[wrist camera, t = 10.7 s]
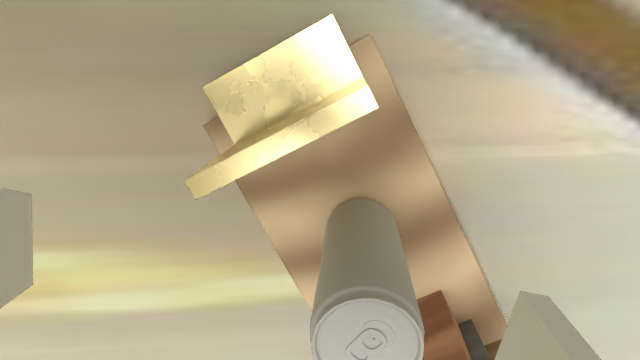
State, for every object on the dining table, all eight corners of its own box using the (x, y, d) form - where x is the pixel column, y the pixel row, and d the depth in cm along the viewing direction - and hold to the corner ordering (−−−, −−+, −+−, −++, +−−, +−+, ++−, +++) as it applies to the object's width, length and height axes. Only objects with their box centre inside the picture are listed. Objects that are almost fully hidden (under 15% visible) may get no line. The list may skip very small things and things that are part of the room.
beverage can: (411, 225, 28) (453, 343, 17) (365, 274, 29) (374, 415, 18) (356, 181, 28) (359, 272, 16) (310, 233, 29) (284, 352, 17)
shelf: (209, 122, 29) (109, 165, 17) (369, 35, 26) (384, 15, 15) (364, 391, 34) (371, 569, 22) (511, 338, 31) (606, 504, 20)
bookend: (205, 86, 26) (134, 99, 18) (332, 14, 25) (322, -10, 16) (245, 156, 28) (195, 199, 19) (370, 92, 26) (378, 107, 17)
